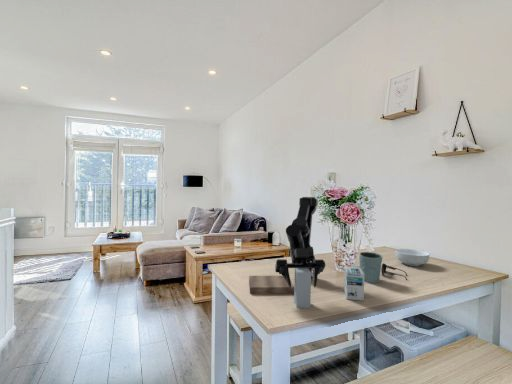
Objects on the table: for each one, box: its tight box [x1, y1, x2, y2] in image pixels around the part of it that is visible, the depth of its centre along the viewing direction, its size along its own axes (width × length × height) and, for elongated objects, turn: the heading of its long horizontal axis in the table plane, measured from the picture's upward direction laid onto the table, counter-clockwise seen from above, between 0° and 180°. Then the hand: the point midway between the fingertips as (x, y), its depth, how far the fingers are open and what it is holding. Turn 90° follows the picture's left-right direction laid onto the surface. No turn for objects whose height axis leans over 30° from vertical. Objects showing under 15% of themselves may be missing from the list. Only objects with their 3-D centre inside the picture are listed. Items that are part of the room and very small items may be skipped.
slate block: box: [293, 268, 312, 309], centre depth 104 cm, size 5×5×13 cm
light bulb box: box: [343, 264, 365, 301], centre depth 114 cm, size 11×7×11 cm, turn 168°
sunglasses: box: [380, 262, 408, 280], centre depth 139 cm, size 10×12×5 cm
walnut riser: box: [248, 275, 294, 294], centre depth 121 cm, size 18×14×2 cm
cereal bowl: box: [394, 248, 430, 267], centre depth 159 cm, size 17×17×7 cm
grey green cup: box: [358, 251, 383, 284], centre depth 132 cm, size 10×10×12 cm
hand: (302, 287), depth 103 cm, fingers open, 9 cm apart
